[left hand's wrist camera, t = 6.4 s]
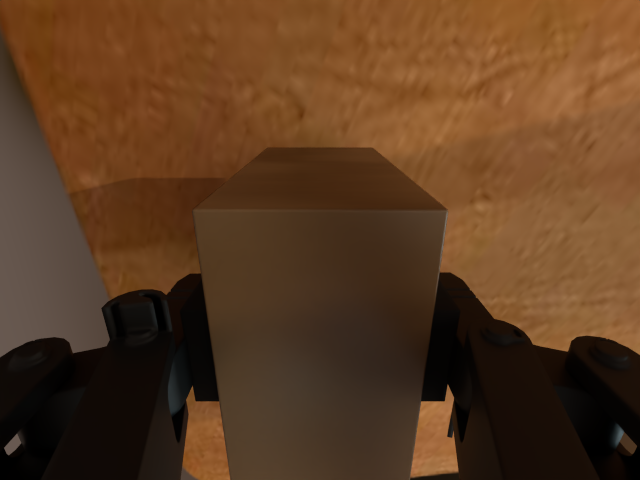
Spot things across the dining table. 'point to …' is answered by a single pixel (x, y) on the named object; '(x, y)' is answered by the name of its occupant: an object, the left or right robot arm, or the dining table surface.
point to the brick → (320, 312)
